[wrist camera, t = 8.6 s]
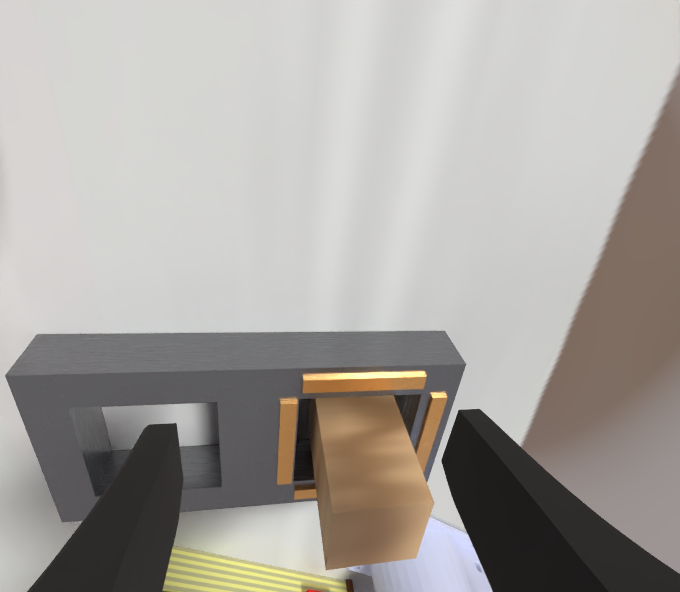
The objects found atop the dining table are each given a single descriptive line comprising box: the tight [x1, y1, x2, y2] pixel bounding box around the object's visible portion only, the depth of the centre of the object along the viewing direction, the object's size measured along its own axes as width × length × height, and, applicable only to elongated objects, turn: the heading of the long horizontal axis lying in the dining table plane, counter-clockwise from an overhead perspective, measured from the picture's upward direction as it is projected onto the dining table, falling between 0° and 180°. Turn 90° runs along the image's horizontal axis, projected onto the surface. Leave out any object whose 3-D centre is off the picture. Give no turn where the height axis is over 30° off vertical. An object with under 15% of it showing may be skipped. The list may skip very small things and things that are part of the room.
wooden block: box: [309, 395, 434, 570], centre depth 21 cm, size 4×4×8 cm
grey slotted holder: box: [5, 331, 466, 522], centre depth 22 cm, size 20×10×3 cm, turn 84°
